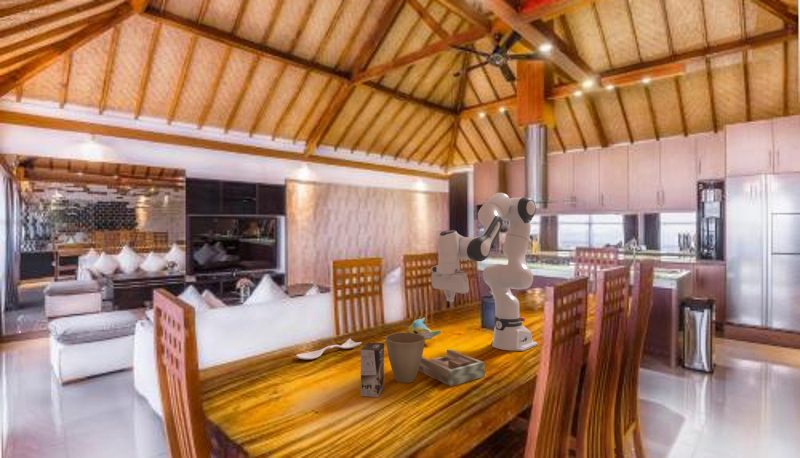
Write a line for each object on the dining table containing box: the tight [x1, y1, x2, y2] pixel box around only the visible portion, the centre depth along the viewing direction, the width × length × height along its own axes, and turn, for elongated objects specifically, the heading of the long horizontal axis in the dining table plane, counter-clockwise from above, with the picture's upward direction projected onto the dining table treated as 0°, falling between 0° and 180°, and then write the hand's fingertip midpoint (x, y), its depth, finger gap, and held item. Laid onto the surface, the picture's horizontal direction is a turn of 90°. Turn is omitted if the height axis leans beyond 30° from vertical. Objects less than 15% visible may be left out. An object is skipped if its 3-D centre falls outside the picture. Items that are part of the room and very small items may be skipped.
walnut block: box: [448, 357, 471, 369], centre depth 158 cm, size 6×6×4 cm
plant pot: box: [385, 332, 426, 384], centre depth 157 cm, size 15×15×16 cm
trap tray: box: [418, 348, 486, 387], centre depth 163 cm, size 17×22×6 cm
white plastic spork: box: [295, 338, 362, 361], centre depth 190 cm, size 9×32×4 cm, turn 134°
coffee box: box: [360, 342, 385, 398], centre depth 145 cm, size 9×6×16 cm
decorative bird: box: [404, 317, 442, 341], centre depth 215 cm, size 14×30×9 cm, turn 11°
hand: (450, 301), depth 176 cm, fingers closed
